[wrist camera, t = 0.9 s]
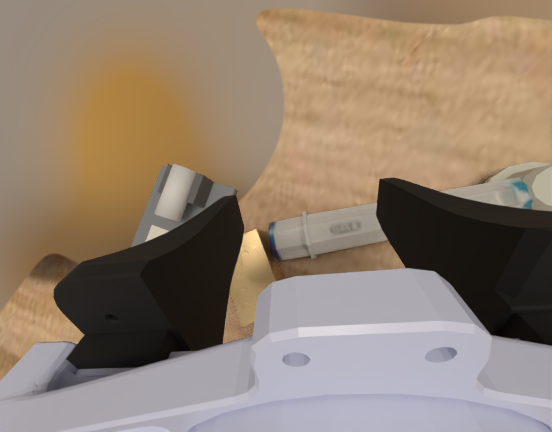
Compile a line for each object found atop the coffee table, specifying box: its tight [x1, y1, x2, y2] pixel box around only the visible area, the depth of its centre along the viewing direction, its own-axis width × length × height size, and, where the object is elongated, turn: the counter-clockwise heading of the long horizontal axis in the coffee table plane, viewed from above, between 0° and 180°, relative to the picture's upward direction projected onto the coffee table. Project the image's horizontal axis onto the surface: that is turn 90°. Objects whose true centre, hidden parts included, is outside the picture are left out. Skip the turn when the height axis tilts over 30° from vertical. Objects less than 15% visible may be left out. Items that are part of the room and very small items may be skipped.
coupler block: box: [230, 229, 284, 327], centre depth 21 cm, size 7×4×5 cm, turn 22°
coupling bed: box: [131, 164, 237, 247], centre depth 23 cm, size 22×9×5 cm, turn 161°
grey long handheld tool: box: [268, 162, 552, 261], centre depth 20 cm, size 5×7×25 cm
